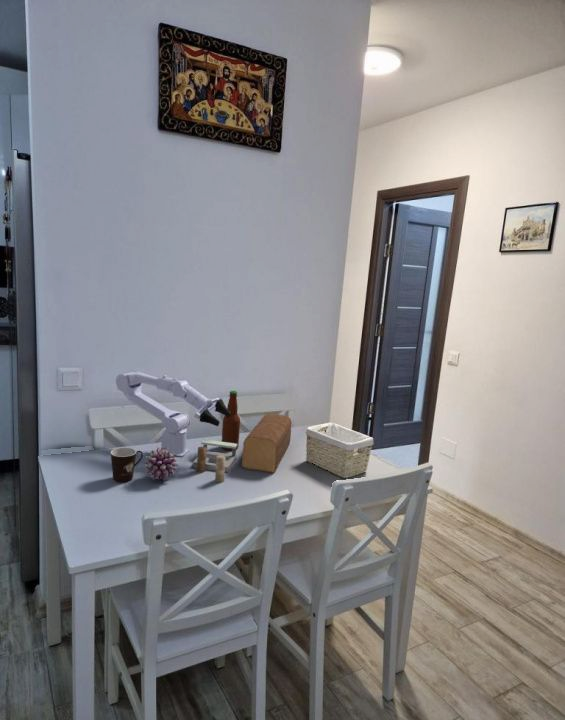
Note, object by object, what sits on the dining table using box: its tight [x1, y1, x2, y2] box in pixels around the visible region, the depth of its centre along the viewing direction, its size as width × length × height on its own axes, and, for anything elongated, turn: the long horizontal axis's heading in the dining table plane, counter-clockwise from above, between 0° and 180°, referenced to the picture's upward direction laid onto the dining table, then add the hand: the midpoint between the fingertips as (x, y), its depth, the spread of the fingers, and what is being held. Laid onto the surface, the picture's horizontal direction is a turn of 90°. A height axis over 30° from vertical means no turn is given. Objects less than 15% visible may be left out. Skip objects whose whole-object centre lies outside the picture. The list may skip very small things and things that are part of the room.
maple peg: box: [214, 455, 226, 483], centre depth 173 cm, size 3×3×9 cm
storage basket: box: [305, 422, 374, 479], centre depth 196 cm, size 24×16×15 cm
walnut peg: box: [196, 446, 208, 473], centre depth 180 cm, size 3×3×9 cm
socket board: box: [192, 439, 239, 473], centre depth 189 cm, size 14×13×7 cm
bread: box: [241, 413, 292, 474], centre depth 201 cm, size 14×34×14 cm, turn 169°
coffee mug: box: [110, 447, 144, 484], centre depth 169 cm, size 12×9×10 cm
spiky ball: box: [143, 446, 179, 481], centre depth 170 cm, size 12×12×12 cm
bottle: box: [221, 390, 241, 451], centre depth 205 cm, size 7×7×25 cm
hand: (224, 419), depth 186 cm, fingers open, 7 cm apart
